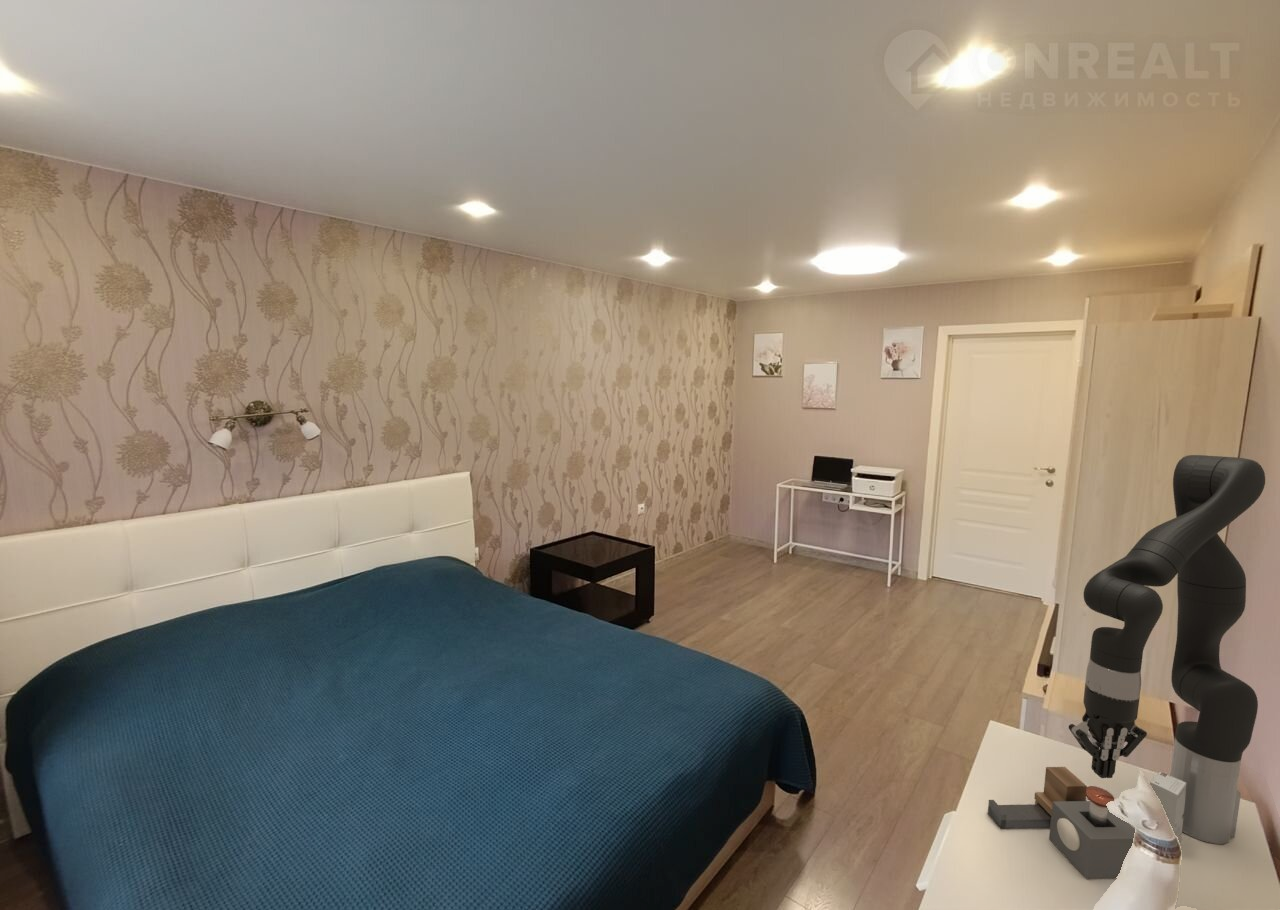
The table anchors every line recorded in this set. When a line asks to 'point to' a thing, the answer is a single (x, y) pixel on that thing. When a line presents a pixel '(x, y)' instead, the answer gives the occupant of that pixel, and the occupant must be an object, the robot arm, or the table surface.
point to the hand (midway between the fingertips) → (1102, 774)
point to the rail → (1019, 816)
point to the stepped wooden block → (1060, 788)
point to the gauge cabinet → (1090, 839)
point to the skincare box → (1171, 799)
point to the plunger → (1098, 805)
